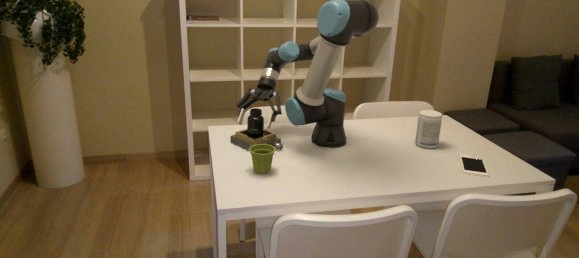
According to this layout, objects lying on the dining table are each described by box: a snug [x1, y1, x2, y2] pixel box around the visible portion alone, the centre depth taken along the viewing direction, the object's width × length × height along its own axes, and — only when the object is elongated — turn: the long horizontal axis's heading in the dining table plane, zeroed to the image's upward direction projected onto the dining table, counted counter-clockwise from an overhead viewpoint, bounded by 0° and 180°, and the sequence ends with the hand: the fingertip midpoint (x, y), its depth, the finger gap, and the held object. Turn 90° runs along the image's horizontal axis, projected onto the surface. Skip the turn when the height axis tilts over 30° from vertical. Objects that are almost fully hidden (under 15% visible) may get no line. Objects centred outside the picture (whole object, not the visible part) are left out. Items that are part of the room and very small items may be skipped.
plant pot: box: [248, 144, 276, 175], centre depth 157 cm, size 9×9×9 cm
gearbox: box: [230, 128, 283, 152], centre depth 181 cm, size 20×14×5 cm
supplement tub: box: [414, 109, 443, 150], centre depth 186 cm, size 10×10×15 cm
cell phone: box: [459, 153, 490, 177], centre depth 170 cm, size 9×18×1 cm, turn 165°
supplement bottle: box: [246, 107, 265, 139], centre depth 180 cm, size 7×7×12 cm
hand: (253, 125), depth 177 cm, fingers open, 12 cm apart
